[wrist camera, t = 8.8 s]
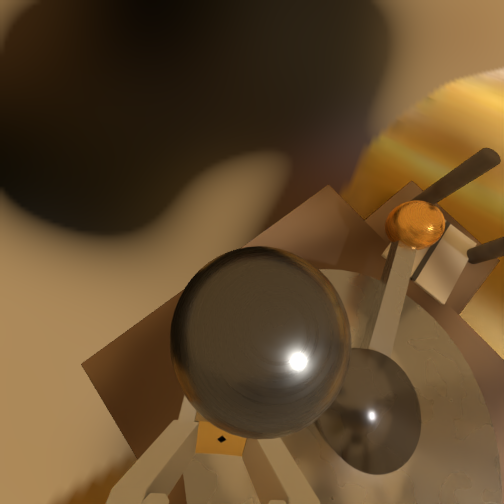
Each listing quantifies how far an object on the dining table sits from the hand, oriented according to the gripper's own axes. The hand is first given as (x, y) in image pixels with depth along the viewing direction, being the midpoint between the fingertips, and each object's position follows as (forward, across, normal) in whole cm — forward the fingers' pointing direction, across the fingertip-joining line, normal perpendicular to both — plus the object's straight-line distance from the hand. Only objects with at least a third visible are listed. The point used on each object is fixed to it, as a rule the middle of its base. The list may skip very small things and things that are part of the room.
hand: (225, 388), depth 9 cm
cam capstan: (+4, +7, -2) cm, 8 cm away
